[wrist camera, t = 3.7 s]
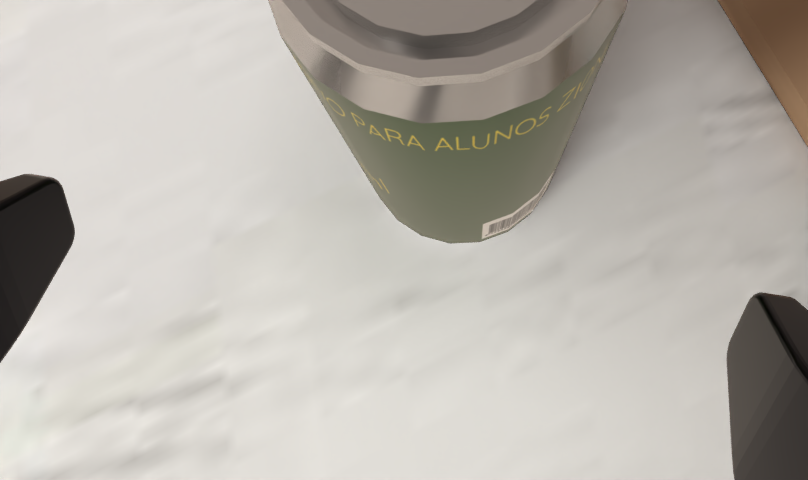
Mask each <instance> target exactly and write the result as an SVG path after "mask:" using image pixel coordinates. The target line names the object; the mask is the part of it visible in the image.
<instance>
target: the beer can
mask: <svg viewBox="0 0 808 480" xmlns="http://www.w3.org/2000/svg"><path fill="white" fill-rule="evenodd" d="M268 1H269V4H270V7H271V10H272V12H273V15H274V18H275V21H276V24H277V27H278V30H279V33H280V36H281V37H282V39H283V41H284V42H285V44H286V45H287V47H288V49H289V50H290V52H291V54H292V55H293V57H294V58H295V60H296V62H297V63H298V65H299V67H300V68H301V70H302V72H303V73H304V75H305V76H306V78H307V80H308V81H309V83H310V85H311V86H312V88H313V89H314V91H315V93H316V94H317V96H318V98H319V99H320V101H321V103H322V104H323V106H324V107H325V109H326V111H327V112H328V114H329V116H330V117H331V119H332V121H333V122H334V124H335V125H336V127H337V129H338V130H339V132H340V134H341V135H342V137H343V138H344V140H345V142H346V143H347V145H348V147H349V148H350V150H351V152H352V153H353V155H354V156H355V158H356V160H357V161H358V163H359V165H360V166H361V168H362V169H363V171H364V173H365V174H366V176H367V178H368V179H369V181H370V183H371V184H372V186H373V187H374V189H375V191H376V192H377V194H378V196H379V197H380V199H381V200H382V201H383V202H384V204H385V205H386V206H387V207H388V209H389V210H390V211H391V212H392V214H393V215H394V216H395V218H396V219H397V220H398V221H400V222H401V223H403V224H404V225H406V226H408V227H409V228H411V229H412V230H414V231H415V232H417V233H418V234H420V235H421V236H425V237H428V238H432V239H436V240H439V241H443V242H447V243H469V242H481V241H484V240H486V239H489V238H492V237H495V236H497V235H500V234H503V233H505V232H508V231H509V230H510V229H512V228H513V227H514V226H516V225H517V224H518V223H519V222H521V221H522V220H523V219H524V218H526V217H527V216H528V215H530V214H531V213H532V211H533V210H534V208H535V207H536V205H537V204H538V202H539V201H540V199H541V198H542V196H543V195H544V193H545V192H546V190H547V188H548V186H549V184H550V182H551V179H552V177H553V175H554V172H555V170H556V168H557V165H558V163H559V161H560V159H561V156H562V154H563V152H564V149H565V147H566V145H567V143H568V140H569V138H570V136H571V133H572V131H573V129H574V126H575V124H576V122H577V120H578V117H579V115H580V113H581V110H582V108H583V106H584V103H585V101H586V99H587V97H588V94H589V92H590V90H591V87H592V85H593V83H594V80H595V78H596V76H597V74H598V71H599V69H600V67H601V64H602V62H603V60H604V58H605V55H606V53H607V51H608V48H609V46H610V44H611V41H612V39H613V37H614V35H615V32H616V30H617V28H618V25H619V23H620V21H621V18H622V16H623V14H624V12H625V9H626V5H627V2H628V0H268Z"/></svg>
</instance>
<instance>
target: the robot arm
mask: <svg viewBox="0 0 808 480" xmlns="http://www.w3.org/2000/svg"><path fill="white" fill-rule="evenodd" d="M74 235H75V228H74V224H73V221H72V217H71V214H70V210H69V207H68V204H67V200H66V197H65V193H64V190H63V187H62V185H61V184H60V183H59V181H58V180H56V179H54V178H52V177H46V176H40V175H34V174H23V175H20V176H16V177H13V178H10V179H7V180H4V181H0V363H1V361H2V360H3V358H4V357H5V356H6V354H7V353H8V351H9V350H10V349H11V347H12V346H13V344H14V343H15V341H16V340H17V338H18V337H19V335H20V334H21V332H22V331H23V329H24V328H25V326H26V324H27V323H28V321H29V319H30V318H31V316H32V314H33V312H34V311H35V309H36V307H37V305H38V304H39V302H40V300H41V298H42V297H43V295H44V293H45V291H46V290H47V288H48V286H49V284H50V283H51V281H52V279H53V277H54V276H55V274H56V272H57V270H58V269H59V267H60V265H61V263H62V262H63V260H64V258H65V256H66V255H67V253H68V251H69V249H70V248H71V246H72V243H73V240H74ZM727 374H728V392H729V410H730V428H731V446H732V461H733V473H734V479H735V480H808V310H807V309H806V308H805V307H804V306H802V305H801V304H800V303H799V302H798V301H796V300H795V299H793V298H791V297H787V296H781V295H774V294H768V293H757V294H755V295H753V296H752V298H751V299H750V300H749V302H748V304H747V306H746V308H745V310H744V312H743V314H742V316H741V319H740V321H739V323H738V325H737V327H736V329H735V331H734V333H733V335H732V338H731V340H730V342H729V346H728V351H727Z"/></svg>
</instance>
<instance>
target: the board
mask: <svg viewBox="0 0 808 480" xmlns="http://www.w3.org/2000/svg"><path fill="white" fill-rule="evenodd" d="M718 1H719V3H720V5H721V6H722V8H723V10H724V11H725V13H726V14H727V16H728V18H729V19H730V21H731V23H732V24H733V26H734V28H735V29H736V31H737V32H738V34H739V36H740V37H741V39H742V41H743V42H744V44H745V45H746V47H747V49H748V50H749V52H750V54H751V55H752V57H753V58H754V60H755V62H756V63H757V65H758V67H759V68H760V70H761V72H762V73H763V75H764V76H765V78H766V80H767V81H768V83H769V85H770V86H771V88H772V89H773V91H774V93H775V94H776V96H777V98H778V99H779V101H780V103H781V104H782V106H783V107H784V109H785V111H786V112H787V114H788V116H789V117H790V119H791V120H792V122H793V124H794V125H795V127H796V129H797V130H798V132H799V133H800V135H801V137H802V138H803V140H804V142H805V143H806V145H807V147H808V0H718Z"/></svg>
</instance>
